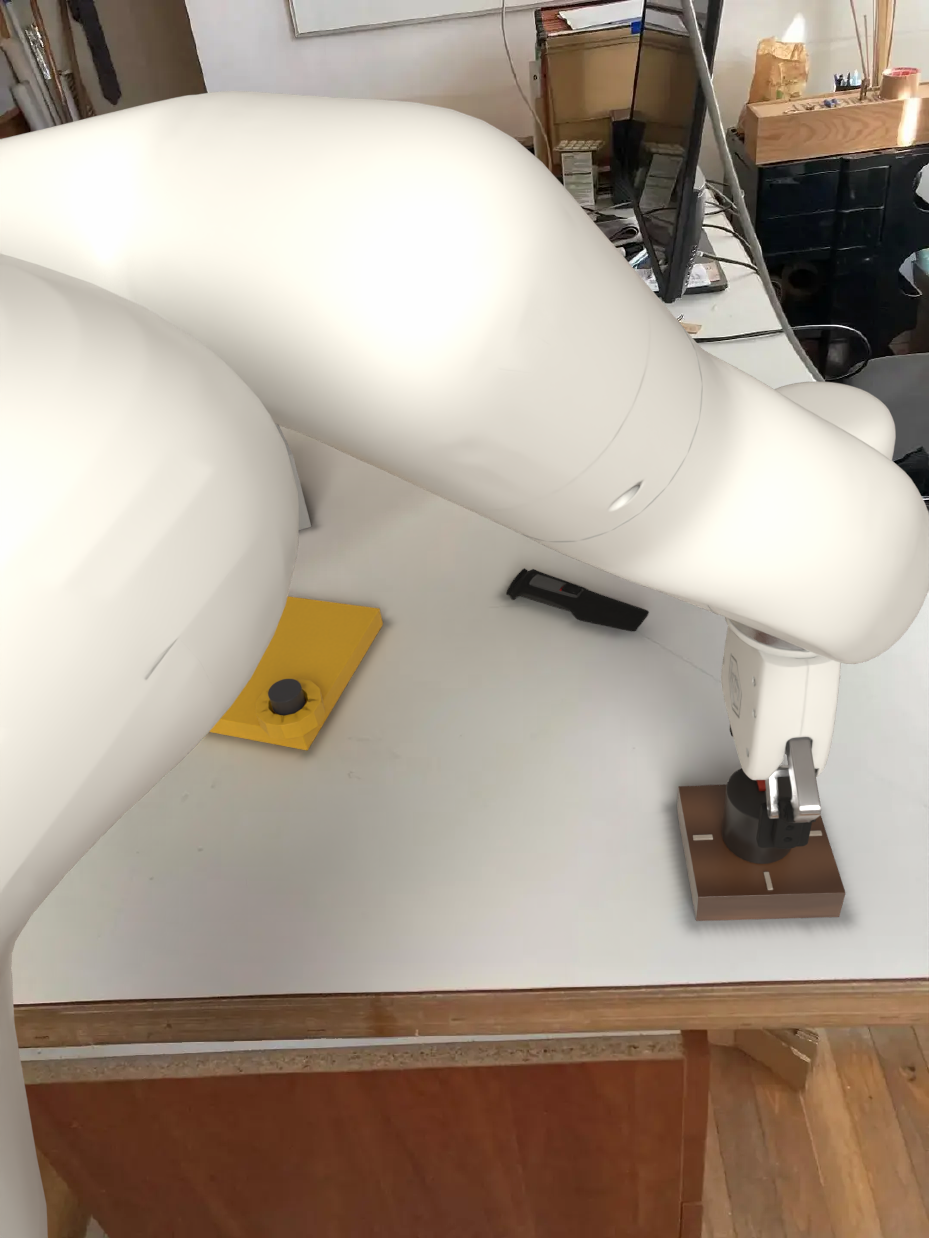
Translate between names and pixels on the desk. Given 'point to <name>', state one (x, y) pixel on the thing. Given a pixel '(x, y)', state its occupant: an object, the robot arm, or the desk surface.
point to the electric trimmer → (576, 600)
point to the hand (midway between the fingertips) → (765, 785)
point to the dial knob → (749, 817)
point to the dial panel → (753, 868)
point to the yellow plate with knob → (303, 670)
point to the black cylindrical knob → (286, 697)
